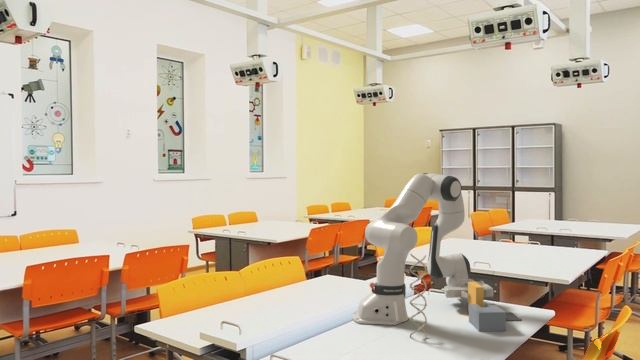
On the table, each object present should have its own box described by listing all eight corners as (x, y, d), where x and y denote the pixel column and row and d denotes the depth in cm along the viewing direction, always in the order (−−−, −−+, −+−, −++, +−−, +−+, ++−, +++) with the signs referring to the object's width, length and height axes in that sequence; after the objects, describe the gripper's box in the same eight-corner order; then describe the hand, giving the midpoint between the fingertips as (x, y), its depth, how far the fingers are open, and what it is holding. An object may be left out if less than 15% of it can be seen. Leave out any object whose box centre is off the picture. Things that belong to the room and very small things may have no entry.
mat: (496, 321, 204) (496, 320, 204) (487, 313, 214) (487, 312, 214) (521, 320, 204) (521, 319, 204) (511, 313, 214) (511, 312, 214)
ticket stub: (476, 317, 206) (476, 287, 206) (468, 310, 216) (468, 281, 216) (483, 317, 206) (483, 287, 206) (475, 310, 216) (475, 281, 216)
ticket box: (479, 331, 192) (479, 312, 192) (468, 321, 204) (468, 303, 204) (505, 330, 192) (505, 312, 192) (493, 320, 205) (493, 303, 204)
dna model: (406, 339, 184) (406, 255, 183) (412, 333, 190) (411, 252, 189) (424, 342, 181) (424, 256, 180) (429, 336, 186) (429, 253, 186)
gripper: (440, 281, 227) (448, 289, 213) (486, 280, 227) (498, 288, 213) (440, 295, 227) (448, 304, 213) (486, 294, 227) (498, 303, 213)
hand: (473, 296), depth 213 cm, fingers closed on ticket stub, 3 cm apart
